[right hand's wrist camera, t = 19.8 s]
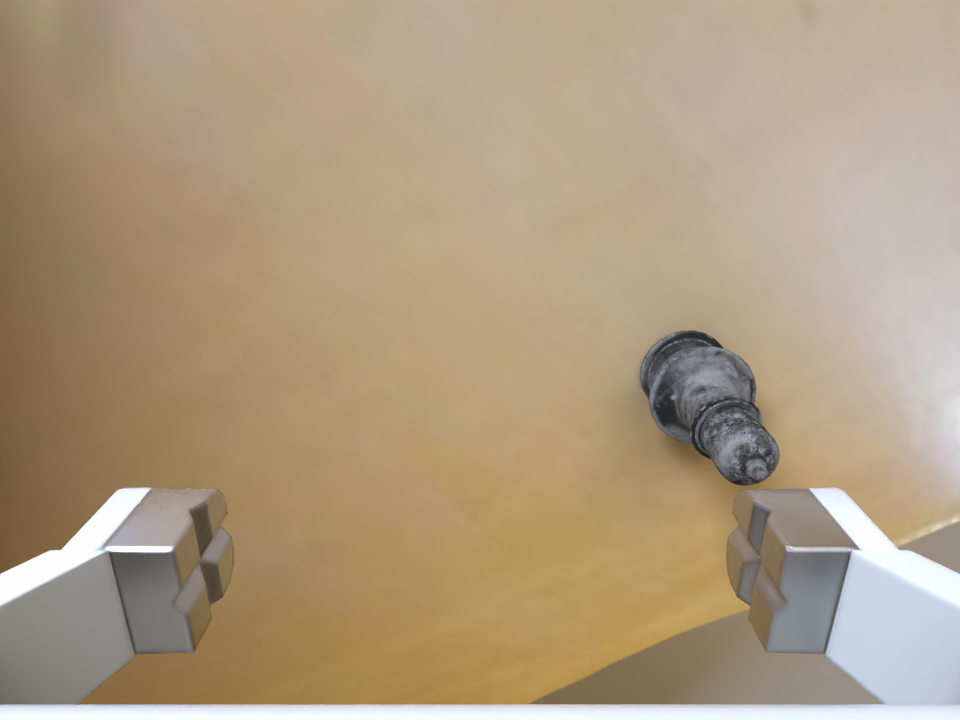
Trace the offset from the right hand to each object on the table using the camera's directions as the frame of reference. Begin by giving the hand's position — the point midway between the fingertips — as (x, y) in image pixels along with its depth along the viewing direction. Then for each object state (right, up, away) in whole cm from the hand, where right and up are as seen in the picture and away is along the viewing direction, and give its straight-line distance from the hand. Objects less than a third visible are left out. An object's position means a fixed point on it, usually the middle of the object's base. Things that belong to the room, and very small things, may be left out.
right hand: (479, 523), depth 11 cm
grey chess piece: (+12, +2, +29) cm, 32 cm away
